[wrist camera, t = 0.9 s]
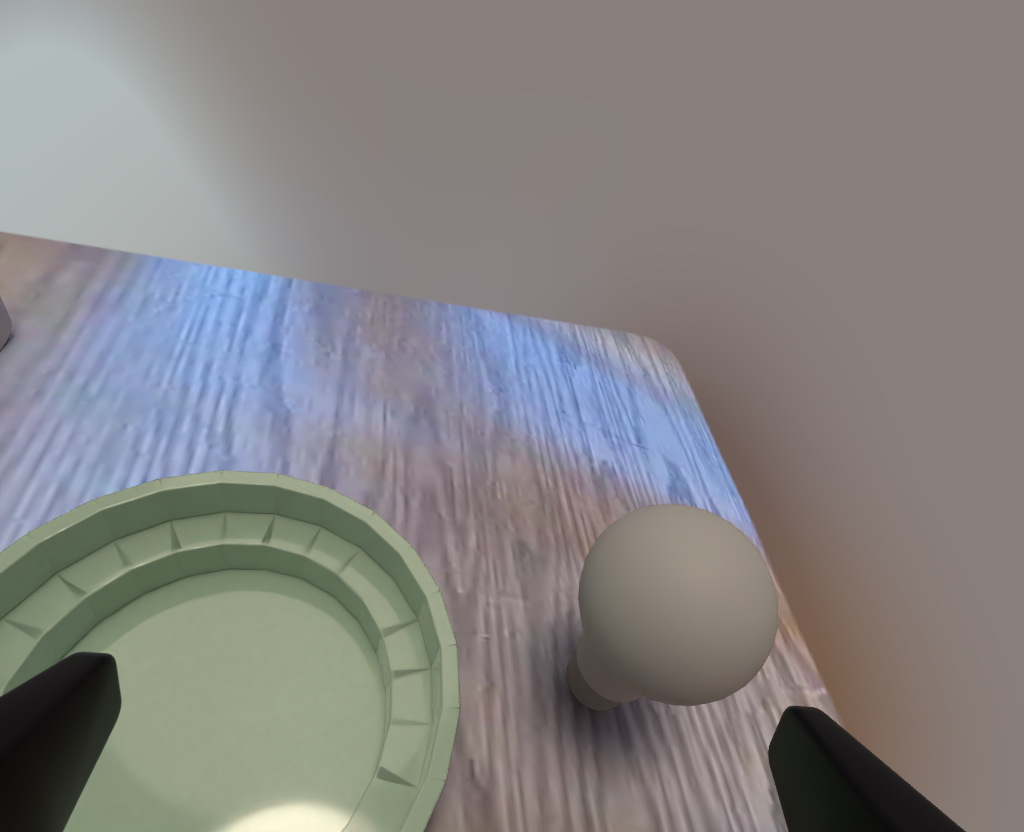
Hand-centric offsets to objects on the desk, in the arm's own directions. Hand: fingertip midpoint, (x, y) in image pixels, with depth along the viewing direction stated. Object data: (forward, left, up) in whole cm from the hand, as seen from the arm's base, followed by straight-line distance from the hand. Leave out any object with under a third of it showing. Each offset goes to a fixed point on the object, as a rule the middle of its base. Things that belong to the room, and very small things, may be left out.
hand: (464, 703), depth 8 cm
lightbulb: (+5, -9, -16) cm, 19 cm away
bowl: (+4, +5, -15) cm, 17 cm away
